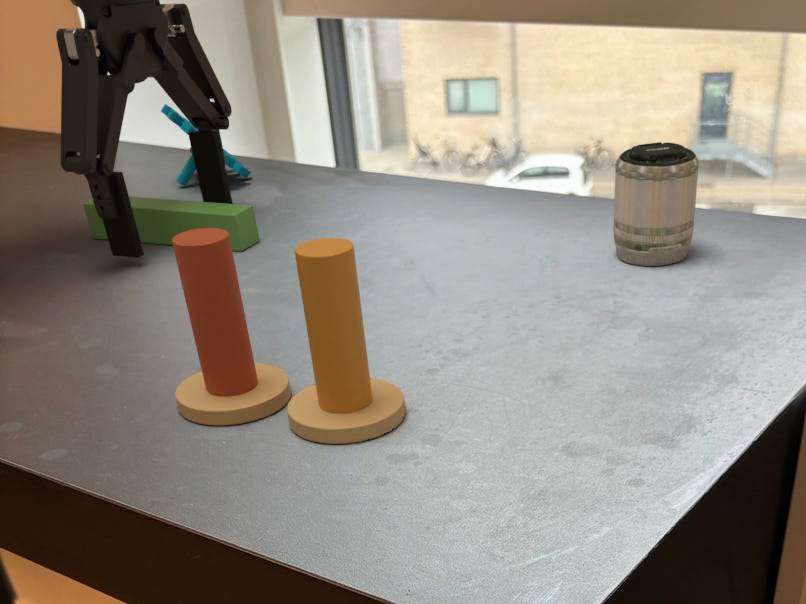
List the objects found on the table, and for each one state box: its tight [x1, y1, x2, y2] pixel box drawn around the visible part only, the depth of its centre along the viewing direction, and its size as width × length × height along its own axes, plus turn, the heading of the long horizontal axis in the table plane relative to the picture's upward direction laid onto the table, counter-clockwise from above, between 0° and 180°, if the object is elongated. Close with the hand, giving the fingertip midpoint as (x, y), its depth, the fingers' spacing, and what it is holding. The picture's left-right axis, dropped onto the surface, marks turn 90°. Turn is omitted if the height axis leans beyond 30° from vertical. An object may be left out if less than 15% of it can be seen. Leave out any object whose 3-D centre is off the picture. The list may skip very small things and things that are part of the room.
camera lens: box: [613, 141, 700, 267], centre depth 79 cm, size 6×6×8 cm
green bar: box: [82, 196, 260, 253], centre depth 90 cm, size 16×3×3 cm, turn 68°
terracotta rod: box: [172, 228, 292, 426], centre depth 60 cm, size 7×7×10 cm
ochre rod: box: [286, 237, 407, 445], centre depth 58 cm, size 7×7×10 cm
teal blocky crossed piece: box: [160, 103, 251, 188], centre depth 104 cm, size 11×6×10 cm
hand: (176, 231), depth 90 cm, fingers open, 13 cm apart
